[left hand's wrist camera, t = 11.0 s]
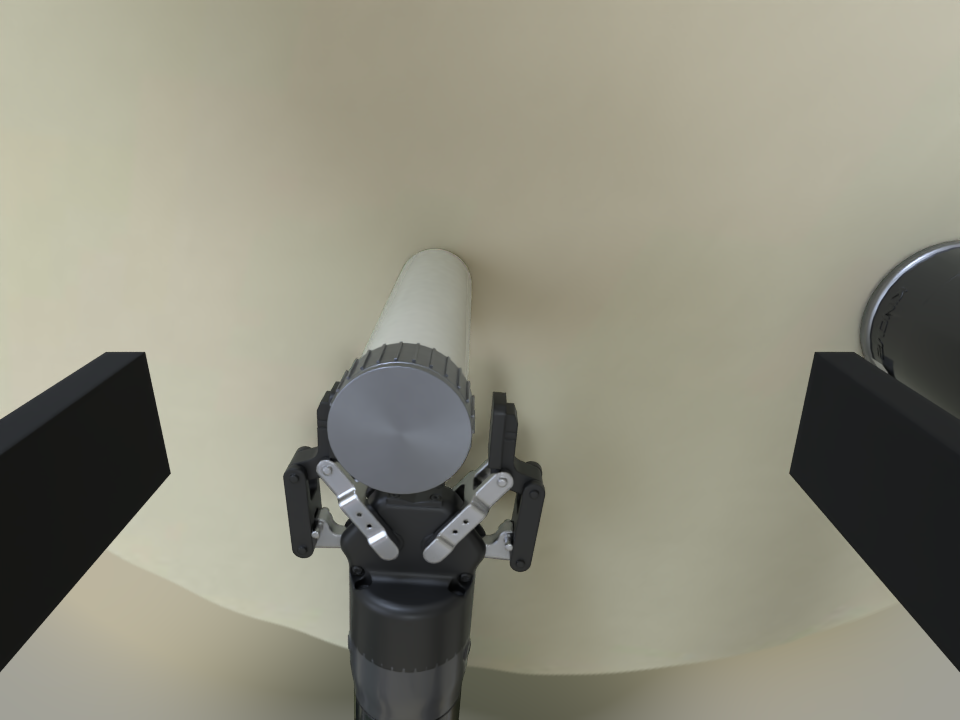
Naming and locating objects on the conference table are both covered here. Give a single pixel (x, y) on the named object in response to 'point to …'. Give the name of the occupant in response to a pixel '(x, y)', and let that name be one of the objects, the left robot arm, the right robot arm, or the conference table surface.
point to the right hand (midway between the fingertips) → (420, 392)
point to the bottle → (429, 307)
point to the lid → (402, 419)
